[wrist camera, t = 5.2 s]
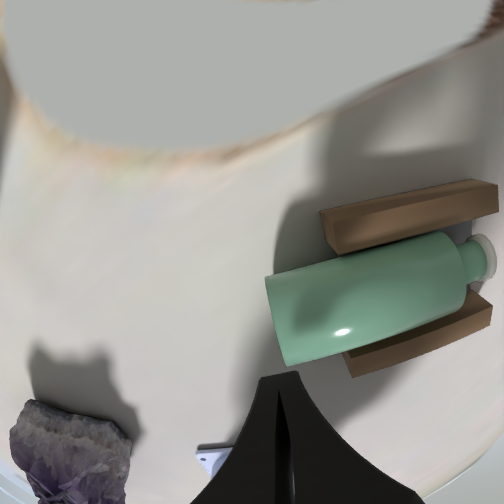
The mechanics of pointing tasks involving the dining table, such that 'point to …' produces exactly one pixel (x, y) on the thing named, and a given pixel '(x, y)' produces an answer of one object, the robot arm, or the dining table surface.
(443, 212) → the cradle
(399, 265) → the bottle
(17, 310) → the dining table surface
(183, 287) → the dining table surface
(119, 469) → the geode
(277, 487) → the robot arm
